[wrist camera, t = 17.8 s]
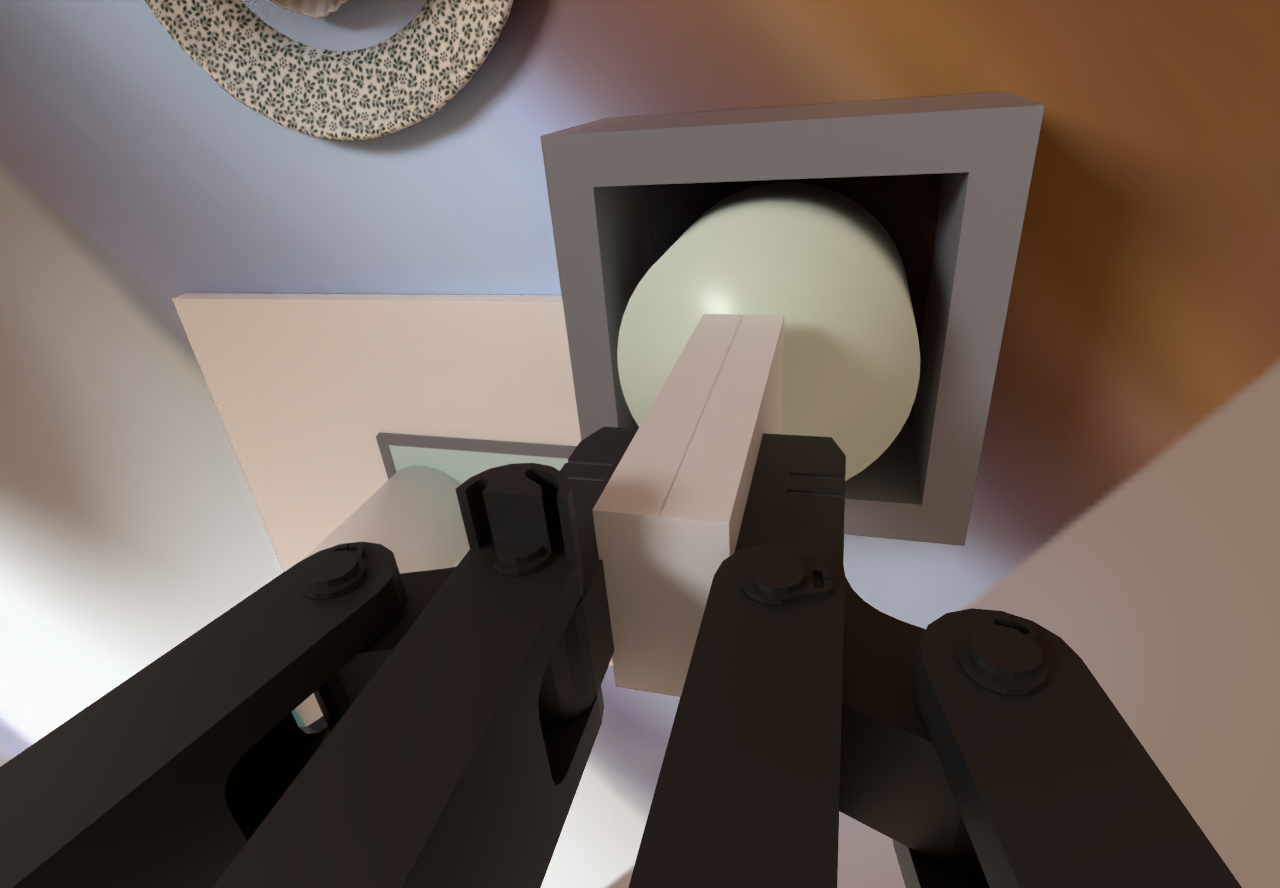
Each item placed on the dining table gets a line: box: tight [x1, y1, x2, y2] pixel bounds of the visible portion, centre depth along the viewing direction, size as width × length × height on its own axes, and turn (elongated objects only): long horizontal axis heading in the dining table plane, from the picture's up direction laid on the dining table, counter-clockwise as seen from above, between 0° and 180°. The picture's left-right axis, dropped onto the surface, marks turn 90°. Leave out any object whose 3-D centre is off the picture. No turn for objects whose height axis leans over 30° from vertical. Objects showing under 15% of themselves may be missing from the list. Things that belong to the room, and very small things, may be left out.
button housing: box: [541, 92, 1045, 546], centre depth 16 cm, size 9×9×4 cm
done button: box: [617, 182, 920, 481], centre depth 16 cm, size 6×6×4 cm
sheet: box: [172, 293, 613, 666], centre depth 24 cm, size 18×14×1 cm
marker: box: [292, 466, 469, 727], centre depth 20 cm, size 4×4×12 cm
